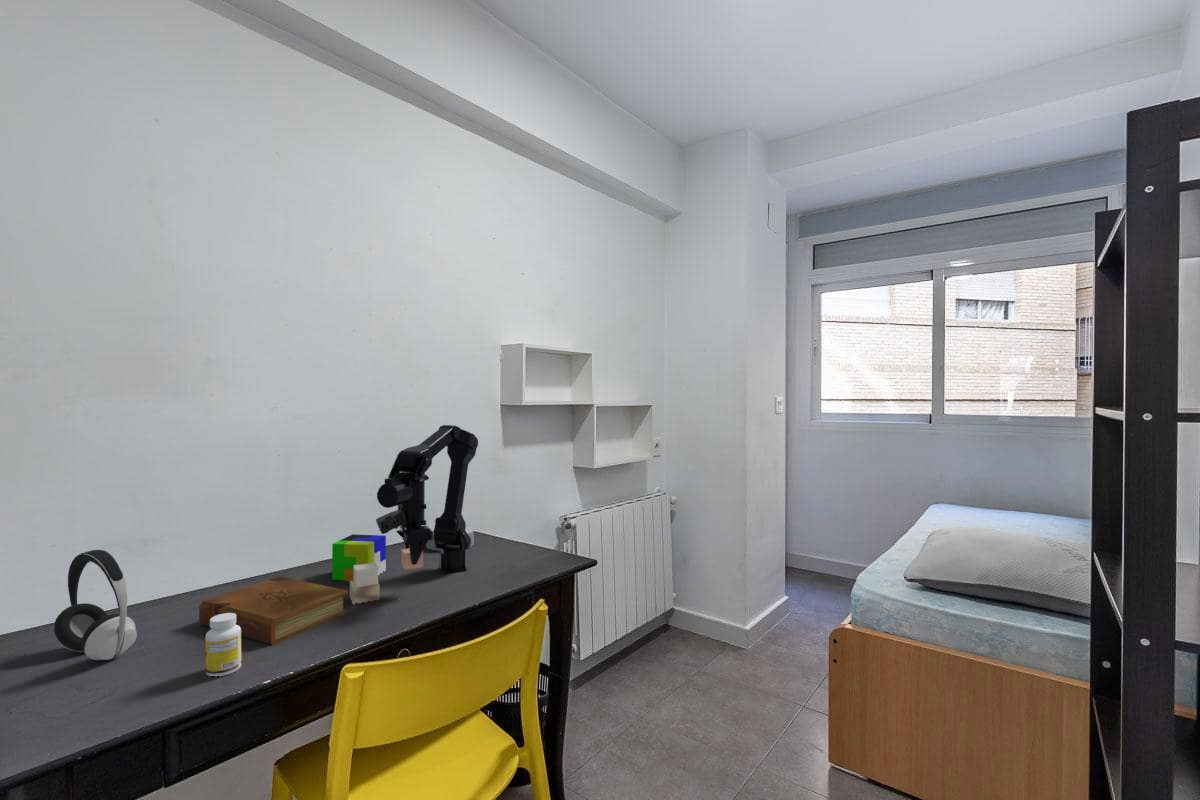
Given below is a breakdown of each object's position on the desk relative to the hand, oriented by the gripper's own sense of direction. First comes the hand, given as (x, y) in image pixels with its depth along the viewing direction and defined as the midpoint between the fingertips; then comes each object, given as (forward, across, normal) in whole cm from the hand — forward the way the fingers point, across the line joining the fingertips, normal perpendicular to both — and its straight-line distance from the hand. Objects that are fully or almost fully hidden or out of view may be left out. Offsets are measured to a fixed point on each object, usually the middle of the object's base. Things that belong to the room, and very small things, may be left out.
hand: (412, 561), depth 141 cm
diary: (+9, +2, -30) cm, 31 cm away
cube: (+1, 0, 0) cm, 1 cm away
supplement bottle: (+8, +24, -38) cm, 46 cm away
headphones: (+8, +5, -60) cm, 60 cm away
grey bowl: (+8, -40, +20) cm, 46 cm away
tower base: (+8, -2, -11) cm, 14 cm away
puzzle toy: (+8, -21, -10) cm, 25 cm away
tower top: (+4, -2, -11) cm, 12 cm away
